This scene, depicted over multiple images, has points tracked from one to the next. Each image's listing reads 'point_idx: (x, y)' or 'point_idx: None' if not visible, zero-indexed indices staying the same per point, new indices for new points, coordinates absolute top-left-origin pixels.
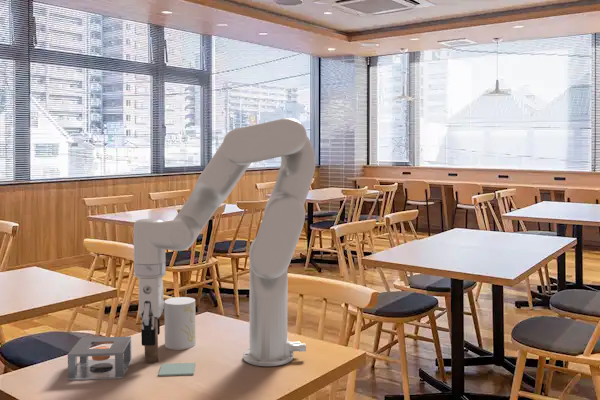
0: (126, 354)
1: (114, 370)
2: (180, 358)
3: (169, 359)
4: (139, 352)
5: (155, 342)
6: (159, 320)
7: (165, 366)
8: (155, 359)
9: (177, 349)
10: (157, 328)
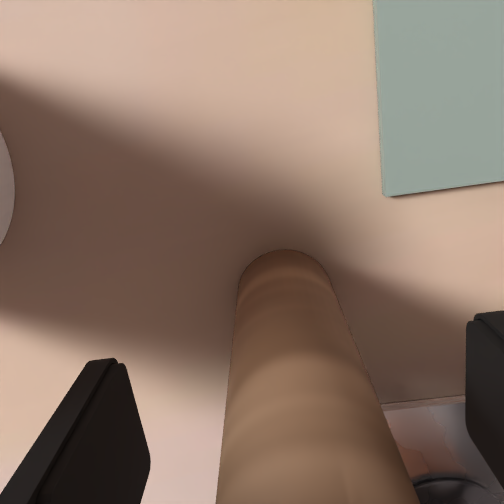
0: None
1: None
2: (219, 83)
3: (248, 170)
4: None
5: (485, 319)
6: (17, 486)
7: (449, 154)
8: (317, 265)
9: (10, 163)
10: (308, 415)
